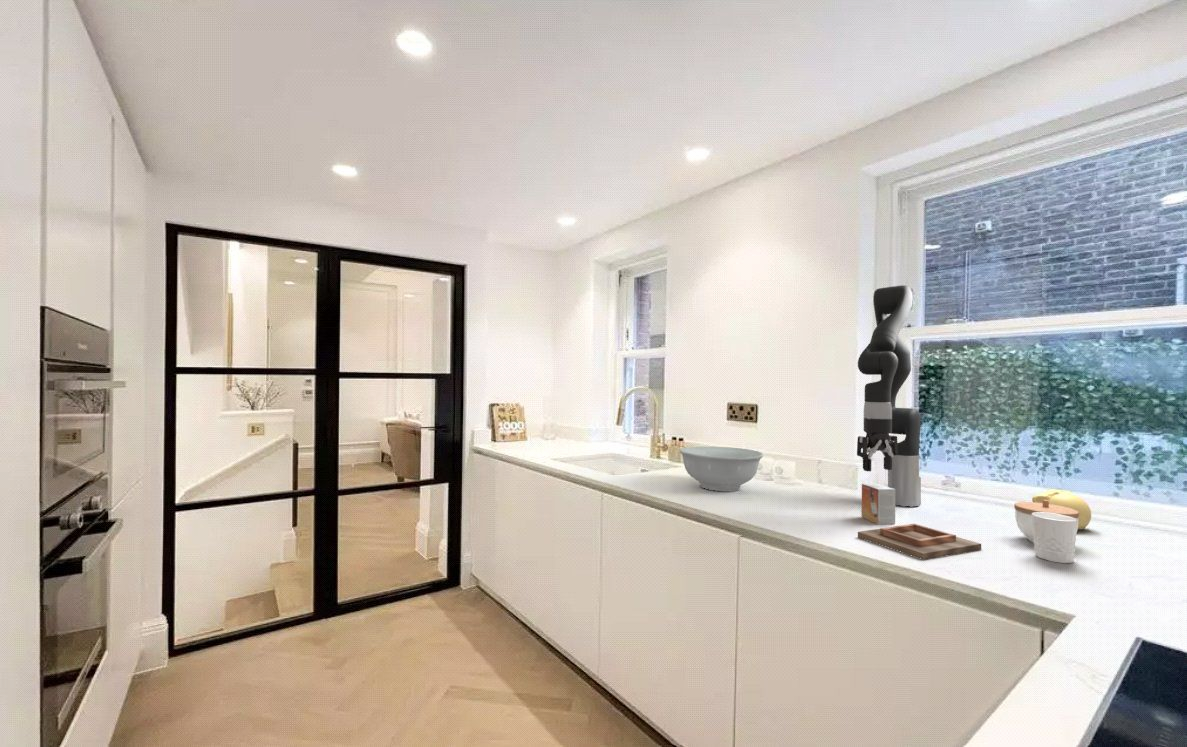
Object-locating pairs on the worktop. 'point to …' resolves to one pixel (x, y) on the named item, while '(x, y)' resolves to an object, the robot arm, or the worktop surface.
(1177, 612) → the worktop surface
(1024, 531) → the lidded bowl
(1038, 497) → the sculpture
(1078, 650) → the worktop surface
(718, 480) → the bowl
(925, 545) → the walnut board
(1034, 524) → the white cup
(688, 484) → the worktop surface
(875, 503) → the small box
